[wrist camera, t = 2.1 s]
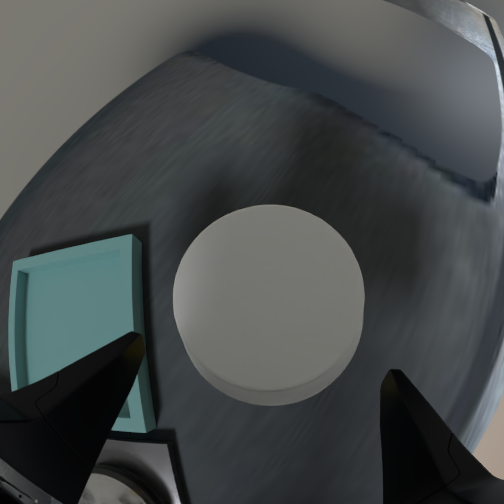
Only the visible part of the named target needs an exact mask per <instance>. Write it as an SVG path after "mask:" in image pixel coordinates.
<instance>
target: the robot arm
mask: <svg viewBox="0 0 504 504" xmlns="http://www.w3.org/2000/svg"><path fill="white" fill-rule="evenodd" d="M144 355H145V345H144V341H143V337H142V335H141V334H140V333H138V332H134V331H130V332H128V333H126V334H125V335H123V336H121V337H119V338H117V339H116V340H114V341H112V342H110V343H108V344H106V345H105V346H103V347H101V348H99V349H97V350H95V351H94V352H92V353H90V354H88V355H86V356H84V357H83V358H81V359H79V360H77V361H75V362H73V363H72V364H70V365H68V366H66V367H64V368H62V369H60V371H57V372H55V373H53V374H51V375H49V376H47V377H45V378H43V379H41V380H39V381H37V382H34V383H32V384H30V385H27V386H25V387H22V388H20V389H17V390H15V391H12V392H10V393H7V394H2V395H0V504H51V503H52V501H53V499H54V498H55V499H56V500H58V501H60V502H61V503H63V504H78V503H79V500H80V498H81V496H82V493H83V491H84V489H85V487H86V484H87V482H88V480H89V478H90V475H91V473H92V470H93V468H94V466H95V464H96V462H97V460H98V457H99V455H100V453H101V451H102V449H103V447H104V445H105V442H106V440H107V438H108V436H109V434H110V432H111V430H112V428H113V426H114V424H115V422H116V419H117V417H118V415H119V413H120V411H121V409H122V407H123V405H124V403H125V401H126V399H127V397H128V395H129V393H130V391H131V389H132V387H133V385H134V382H135V379H136V377H137V374H138V371H139V369H140V366H141V363H142V361H143V358H144ZM380 433H381V447H382V466H383V504H504V480H501V479H499V478H497V477H495V476H493V475H492V474H491V473H490V472H489V471H488V470H487V469H486V468H485V467H484V466H483V465H482V464H481V463H480V462H479V461H478V460H477V459H476V458H475V457H474V456H473V455H472V454H471V453H470V452H469V451H468V450H467V449H466V448H465V446H464V445H463V444H462V443H461V442H460V440H459V439H458V438H457V437H456V436H455V434H454V433H452V431H451V429H450V428H449V427H448V426H447V424H446V423H445V422H444V421H443V420H442V418H441V417H440V416H439V415H438V413H437V412H436V411H435V410H434V409H433V407H432V406H431V405H430V404H429V403H428V401H427V400H426V399H425V398H424V397H423V395H422V394H421V393H420V392H419V391H418V389H417V388H416V387H415V386H414V385H413V384H412V382H411V381H410V380H409V379H408V378H407V377H406V375H405V374H404V373H403V372H402V371H401V370H399V369H390V370H389V371H388V373H387V375H386V376H385V378H384V380H383V382H382V384H381V389H380Z"/></svg>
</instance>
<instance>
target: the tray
mask: <svg viewBox="0 0 504 504" xmlns="http://www.w3.org/2000/svg"><path fill="white" fill-rule="evenodd" d="M130 331H134V332H138V333H140V334H141V335H142V337H143V341H144V345H145V355H144V358H143V361H142V363H141V366H140V369H139V371H138V374H137V377H136V379H135V382H134V385H133V387H132V389H131V391H130V393H129V395H128V397H127V399H126V401H125V403H124V405H123V407H122V409H121V411H120V413H119V415H118V417H117V419H116V422H115V424H114V426H113V428H112V430H115V431H125V432H139V433H147V432H149V431H151V430H153V429H155V428H156V422H155V416H154V409H153V403H152V396H151V388H150V380H149V372H148V363H147V353H146V341H145V328H144V312H143V290H142V243H141V242H140V241H139V240H138V239H137V238H136V237H135V236H134V235H133V234H129V235H124V236H120V237H115V238H110V239H106V240H101V241H96V242H92V243H87V244H83V245H78V246H74V247H70V248H65V249H61V250H57V251H53V252H49V253H44V254H40V255H36V256H32V257H28V258H24V259H20V260H17V261H13V268H12V277H11V288H10V302H9V364H10V377H11V388H12V391H15V390H17V389H20V388H22V387H25V386H27V385H30V384H32V383H34V382H37V381H39V380H41V379H43V378H45V377H47V376H49V375H51V374H53V373H55V372H57V371H60V369H62V368H64V367H66V366H68V365H70V364H72V363H73V362H75V361H77V360H79V359H81V358H83V357H84V356H86V355H88V354H90V353H92V352H94V351H95V350H97V349H99V348H101V347H103V346H105V345H106V344H108V343H110V342H112V341H114V340H116V339H117V338H119V337H121V336H123V335H125V334H126V333H128V332H130Z"/></svg>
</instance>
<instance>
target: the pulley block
mask: <svg viewBox="0 0 504 504" xmlns="http://www.w3.org/2000/svg"><path fill="white" fill-rule="evenodd" d="M78 504H186V502H185V498H184V494H183V490H182V486H181V482H180V477H179V473H178V469H177V464H176V459H175V454H174V449H173V444H172V441H165V440H144V439H131V438H121V437H112V436H108V438H107V440H106V442H105V445H104V447H103V449H102V451H101V453H100V455H99V457H98V460H97V462H96V464H95V466H94V468H93V470H92V473H91V475H90V478H89V480H88V482H87V484H86V487H85V489H84V491H83V493H82V496H81V498H80V500H79V503H78Z"/></svg>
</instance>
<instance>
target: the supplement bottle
mask: <svg viewBox="0 0 504 504" xmlns="http://www.w3.org/2000/svg"><path fill="white" fill-rule="evenodd" d="M364 301H365V294H364V284H363V278H362V273H361V270H360V267H359V264H358V262H357V260H356V258H355V256H354V254H353V252H352V250H351V248H350V247H349V245H348V244H347V242H346V241H345V240H344V239H343V237H342V236H341V235H340V234H339V233H338V232H337V231H336V230H335V229H334V228H333V227H331V226H330V225H329V224H327V223H326V222H325V221H324V220H322V219H320V218H318V217H316V216H314V215H313V214H311V213H309V212H306V211H303V210H300V209H297V208H294V207H289V206H284V205H258V206H252V207H248V208H244V209H240V210H237V211H234V212H232V213H229V214H227V215H225V216H223V217H221V218H220V219H218V220H216V221H215V222H213V223H212V224H211V225H209V226H208V227H207V228H206V229H204V230H203V231H202V232H201V233H200V234H199V235H198V236H197V237H196V238H195V240H194V241H193V242H192V244H191V245H190V246H189V248H188V249H187V251H186V253H185V254H184V256H183V258H182V260H181V262H180V265H179V268H178V270H177V274H176V277H175V282H174V289H173V307H174V317H175V320H176V324H177V328H178V330H179V333H180V336H181V338H182V340H183V343H184V346H185V349H186V351H187V353H188V355H189V358H190V359H191V361H192V363H193V364H194V366H195V367H196V369H197V370H198V371H199V373H200V374H201V375H202V376H203V377H204V378H205V379H206V380H207V381H208V382H209V383H210V384H211V385H213V386H214V387H215V388H217V389H218V390H219V391H221V392H222V393H224V394H226V395H228V396H229V397H232V398H234V399H237V400H240V401H242V402H245V403H250V404H255V405H264V406H279V405H286V404H292V403H296V402H299V401H302V400H305V399H307V398H309V397H311V396H313V395H315V394H317V393H319V392H321V391H322V390H323V389H325V388H326V387H328V386H329V385H330V384H331V383H332V382H333V381H335V380H336V379H337V378H338V376H339V375H340V374H341V373H342V372H343V371H344V369H345V368H346V367H347V365H348V364H349V362H350V361H351V359H352V357H353V355H354V353H355V351H356V349H357V346H358V344H359V340H360V337H361V333H362V327H363V310H364Z"/></svg>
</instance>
